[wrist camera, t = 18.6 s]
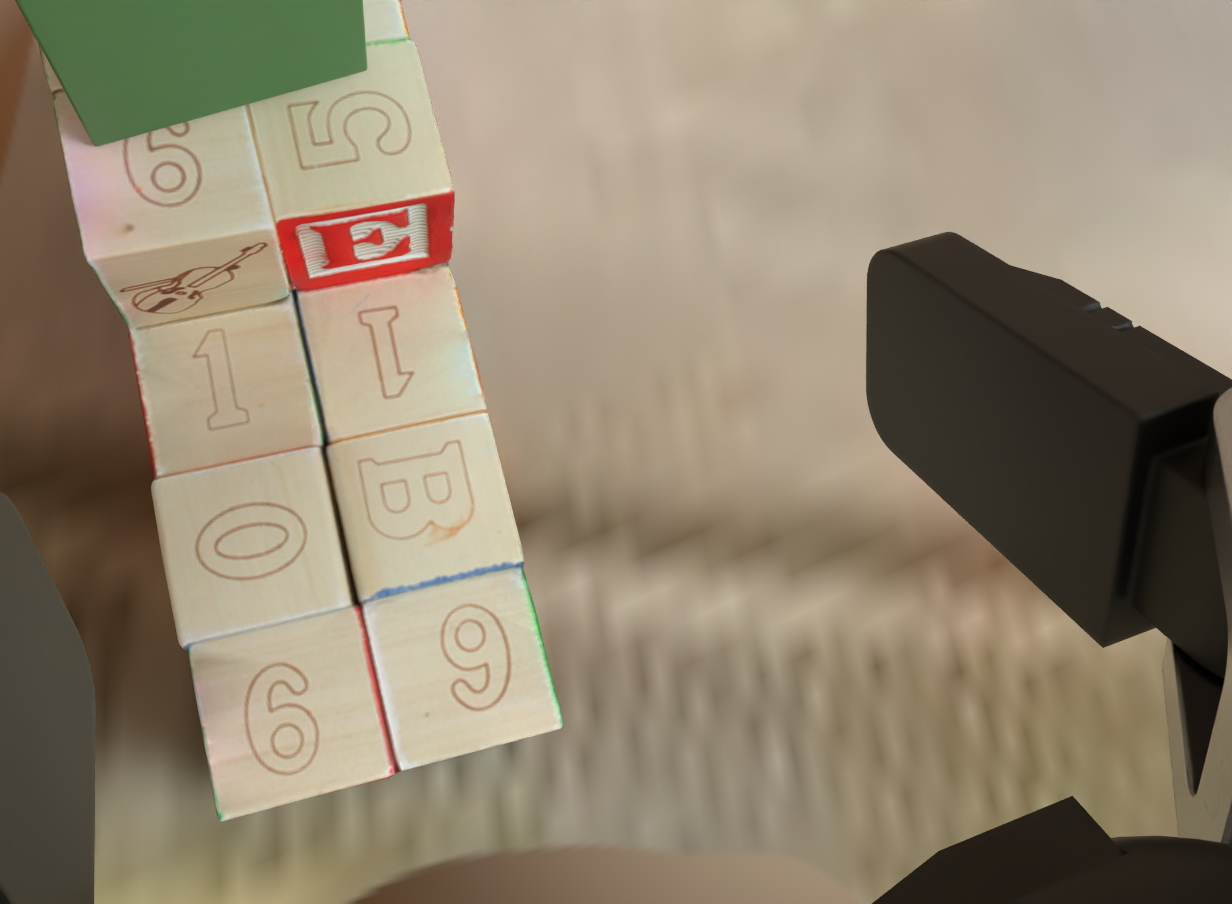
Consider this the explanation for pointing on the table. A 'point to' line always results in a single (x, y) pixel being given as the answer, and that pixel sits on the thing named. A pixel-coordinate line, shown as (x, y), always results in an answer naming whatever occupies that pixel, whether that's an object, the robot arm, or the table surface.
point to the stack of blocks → (316, 431)
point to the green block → (190, 55)
